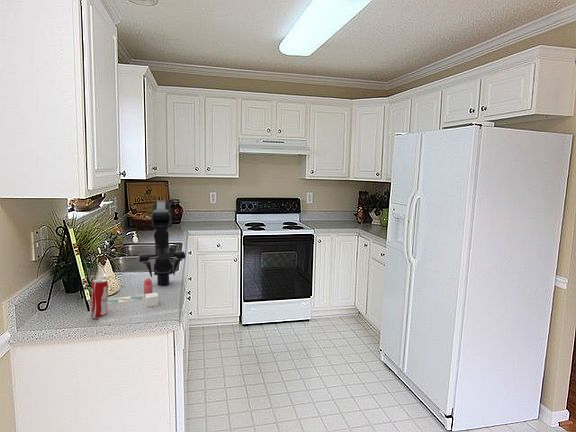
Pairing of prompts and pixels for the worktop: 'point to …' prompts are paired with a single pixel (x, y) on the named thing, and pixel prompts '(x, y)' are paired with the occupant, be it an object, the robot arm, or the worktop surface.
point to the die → (151, 299)
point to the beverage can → (99, 298)
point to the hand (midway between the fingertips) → (162, 276)
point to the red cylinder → (148, 286)
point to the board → (125, 299)
